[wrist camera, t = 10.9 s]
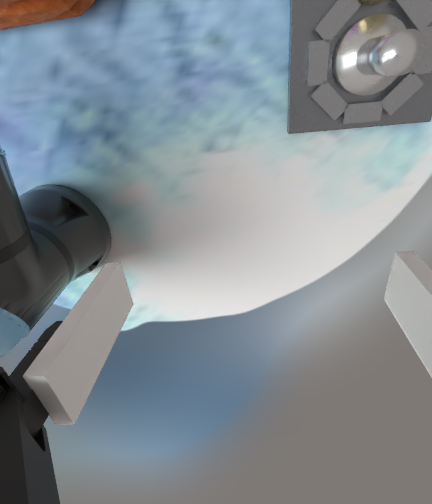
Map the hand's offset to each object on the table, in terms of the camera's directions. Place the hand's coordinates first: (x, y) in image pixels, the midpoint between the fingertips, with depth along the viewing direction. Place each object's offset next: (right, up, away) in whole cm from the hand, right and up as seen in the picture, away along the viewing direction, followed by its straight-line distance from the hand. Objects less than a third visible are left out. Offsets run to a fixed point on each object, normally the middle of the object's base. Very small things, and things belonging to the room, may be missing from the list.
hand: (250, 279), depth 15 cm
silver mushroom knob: (+14, +22, +17) cm, 31 cm away
